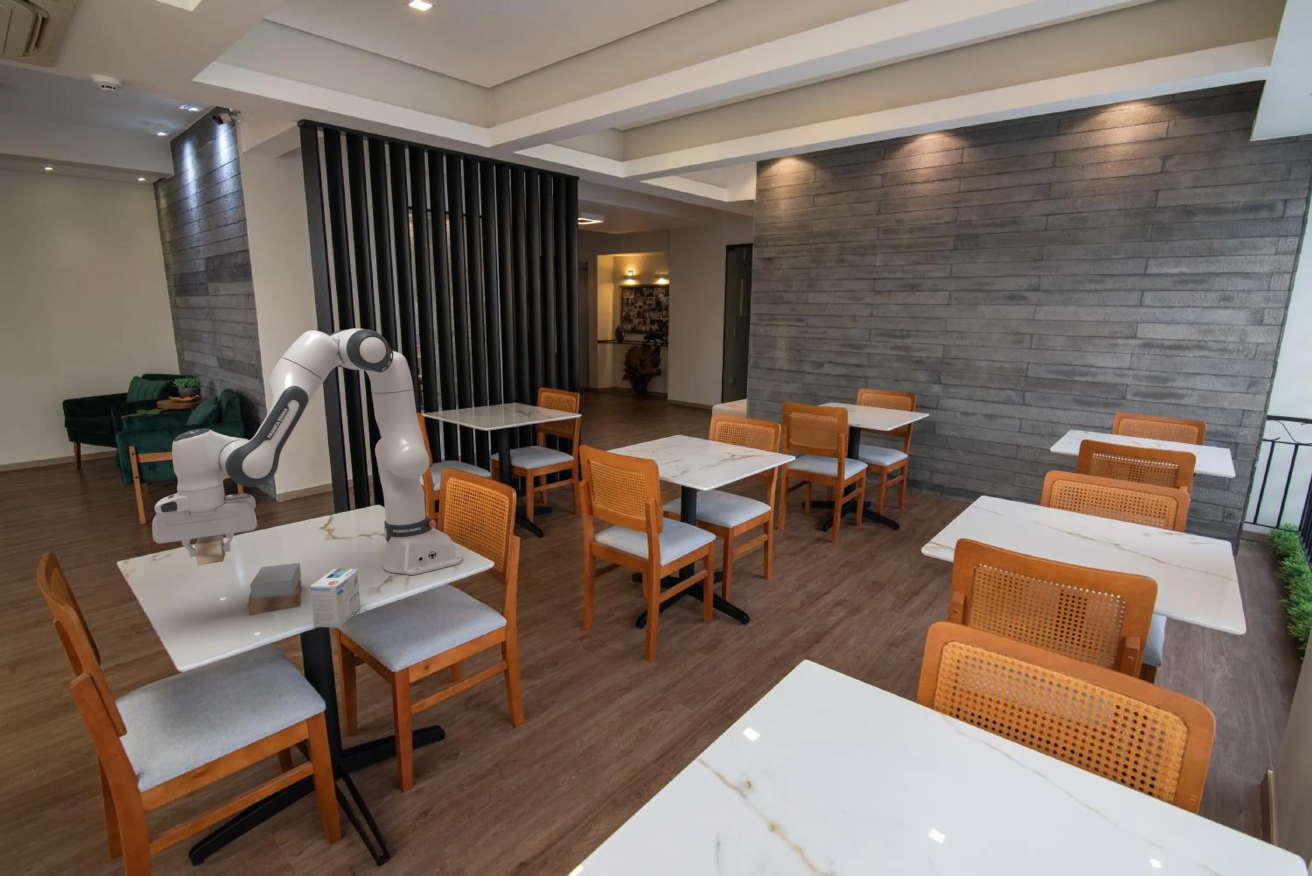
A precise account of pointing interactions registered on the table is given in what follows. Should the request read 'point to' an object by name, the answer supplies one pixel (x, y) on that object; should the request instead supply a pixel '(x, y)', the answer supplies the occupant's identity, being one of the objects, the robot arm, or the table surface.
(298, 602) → the walnut base slab
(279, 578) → the slate grey block
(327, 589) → the light bulb box
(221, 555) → the birch cube
